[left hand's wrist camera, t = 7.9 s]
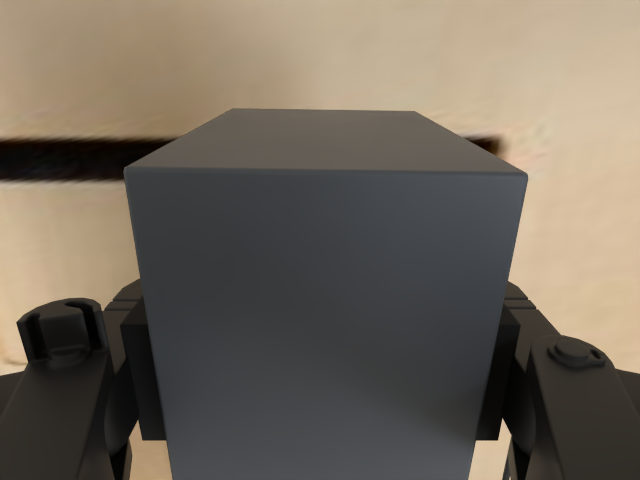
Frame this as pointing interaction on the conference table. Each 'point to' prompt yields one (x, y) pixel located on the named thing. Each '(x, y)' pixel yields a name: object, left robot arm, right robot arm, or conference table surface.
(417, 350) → the post
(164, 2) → the conference table surface
